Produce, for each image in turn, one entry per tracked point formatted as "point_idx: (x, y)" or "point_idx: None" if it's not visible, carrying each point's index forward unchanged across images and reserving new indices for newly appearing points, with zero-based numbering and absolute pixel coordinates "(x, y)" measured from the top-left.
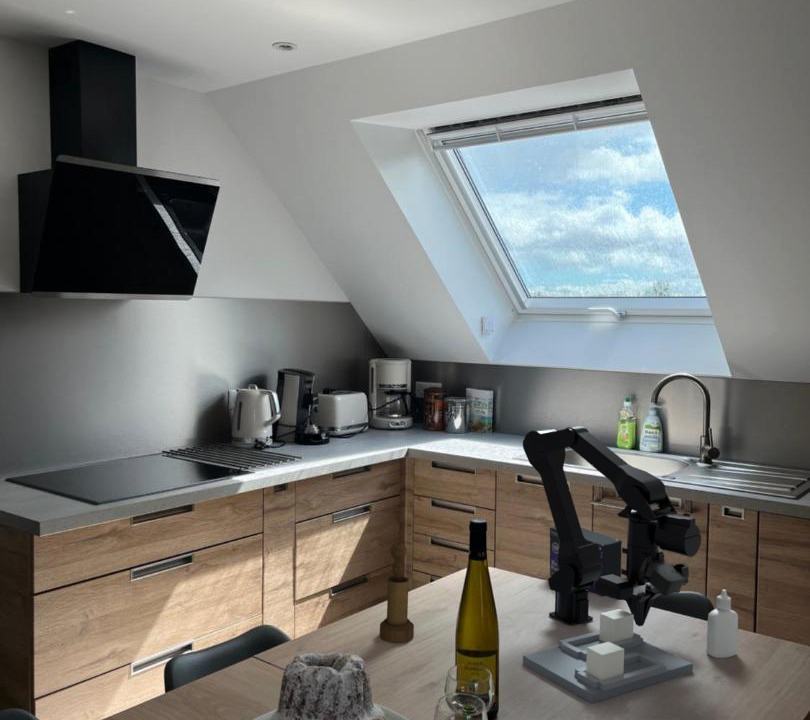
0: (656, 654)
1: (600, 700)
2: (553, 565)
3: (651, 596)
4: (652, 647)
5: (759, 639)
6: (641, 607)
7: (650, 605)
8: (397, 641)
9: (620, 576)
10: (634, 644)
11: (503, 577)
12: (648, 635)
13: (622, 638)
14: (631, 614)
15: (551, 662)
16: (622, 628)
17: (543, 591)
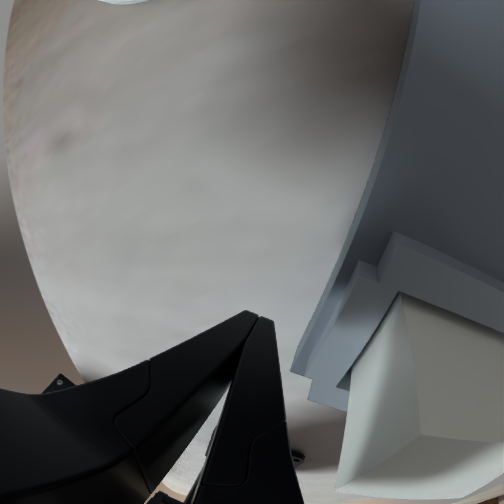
0: (491, 106)
1: None
2: None
3: (72, 487)
4: (416, 159)
5: (17, 33)
6: (263, 450)
7: (124, 382)
8: (498, 500)
9: (43, 393)
10: (458, 262)
11: (184, 492)
12: (176, 266)
13: (470, 334)
14: (420, 443)
15: None
16: (490, 379)
17: (175, 469)
